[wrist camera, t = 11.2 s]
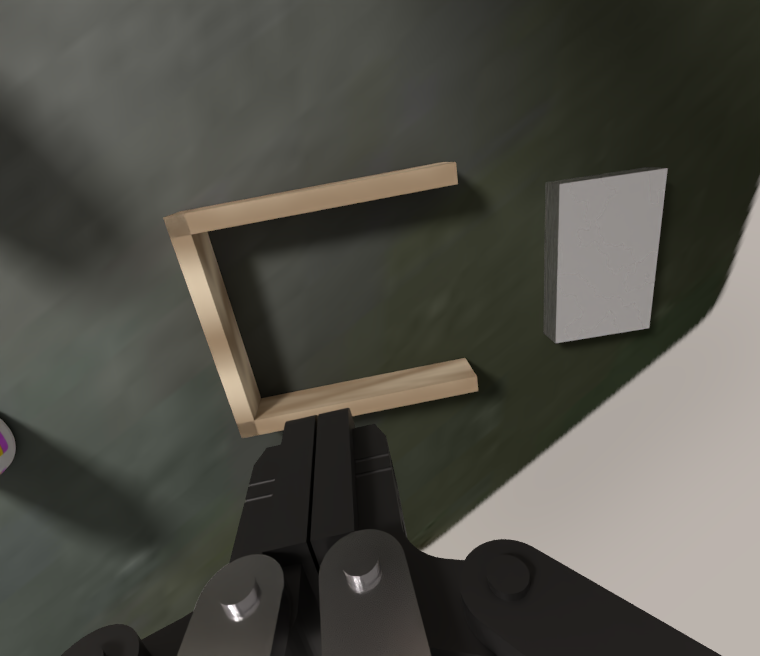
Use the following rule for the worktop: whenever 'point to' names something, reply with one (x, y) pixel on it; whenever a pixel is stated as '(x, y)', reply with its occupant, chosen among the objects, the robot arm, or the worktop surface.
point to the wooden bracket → (224, 331)
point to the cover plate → (601, 252)
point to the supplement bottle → (6, 446)
